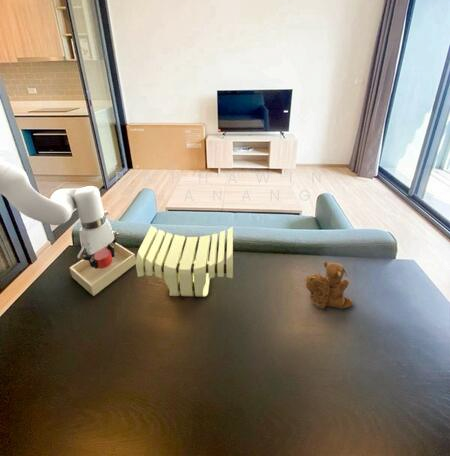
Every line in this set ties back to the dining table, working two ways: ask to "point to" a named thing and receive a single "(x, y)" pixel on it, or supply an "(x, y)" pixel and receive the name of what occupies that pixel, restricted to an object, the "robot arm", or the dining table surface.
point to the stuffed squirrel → (329, 287)
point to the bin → (103, 270)
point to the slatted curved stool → (185, 261)
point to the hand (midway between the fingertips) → (103, 260)
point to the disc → (103, 258)
